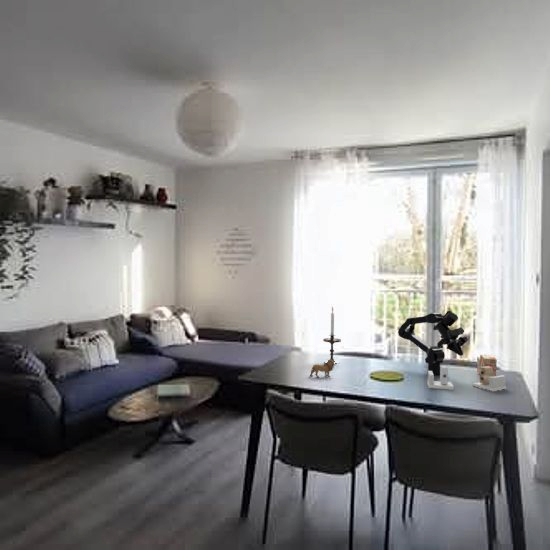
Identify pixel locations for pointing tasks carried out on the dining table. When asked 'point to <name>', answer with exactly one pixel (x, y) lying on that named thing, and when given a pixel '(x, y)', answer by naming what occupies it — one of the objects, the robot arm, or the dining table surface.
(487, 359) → the stack of blocks
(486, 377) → the two dot key
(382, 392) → the dining table surface
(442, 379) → the one dot key
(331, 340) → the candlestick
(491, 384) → the white l-shaped holder
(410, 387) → the dining table surface
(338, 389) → the dining table surface
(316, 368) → the lion figurine
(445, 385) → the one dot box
